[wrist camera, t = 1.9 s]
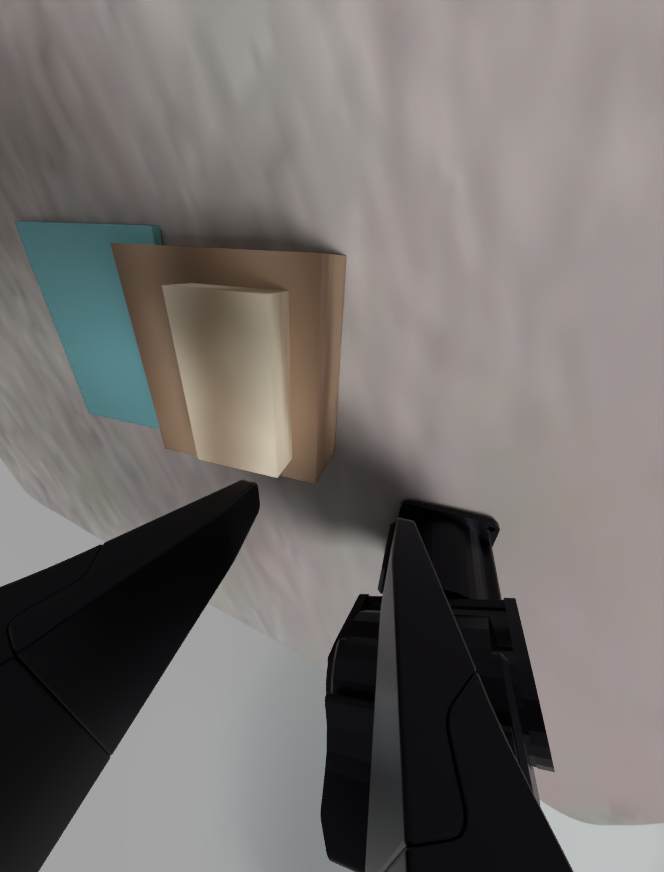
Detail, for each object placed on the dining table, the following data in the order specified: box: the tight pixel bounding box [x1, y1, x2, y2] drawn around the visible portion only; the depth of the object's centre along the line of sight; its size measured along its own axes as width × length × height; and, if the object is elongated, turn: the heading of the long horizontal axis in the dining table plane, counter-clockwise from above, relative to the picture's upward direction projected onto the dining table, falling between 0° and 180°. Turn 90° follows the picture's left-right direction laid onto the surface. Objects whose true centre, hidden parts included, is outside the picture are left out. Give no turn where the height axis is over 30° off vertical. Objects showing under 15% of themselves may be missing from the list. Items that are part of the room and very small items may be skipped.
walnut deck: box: [110, 243, 346, 484], centre depth 18 cm, size 11×12×4 cm
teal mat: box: [14, 221, 163, 429], centre depth 23 cm, size 11×14×1 cm
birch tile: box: [162, 283, 292, 478], centre depth 16 cm, size 5×9×2 cm, turn 178°
